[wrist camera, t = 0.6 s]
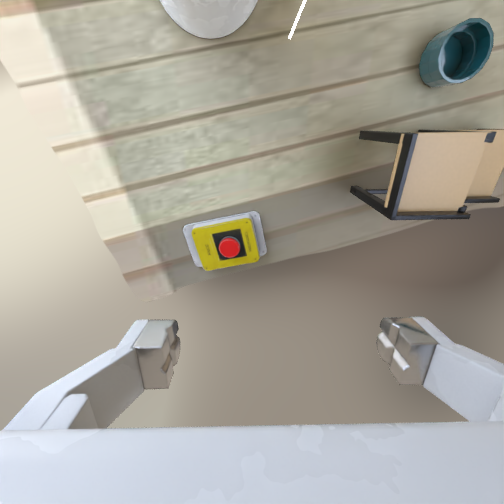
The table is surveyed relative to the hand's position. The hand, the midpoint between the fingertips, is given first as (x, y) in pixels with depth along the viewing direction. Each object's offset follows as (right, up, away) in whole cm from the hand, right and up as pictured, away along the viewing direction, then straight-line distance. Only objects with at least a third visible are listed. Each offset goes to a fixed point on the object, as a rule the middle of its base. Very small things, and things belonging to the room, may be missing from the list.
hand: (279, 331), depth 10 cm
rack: (+27, +19, +32) cm, 46 cm away
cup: (+26, +31, +26) cm, 48 cm away
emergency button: (-6, +6, +39) cm, 40 cm away
